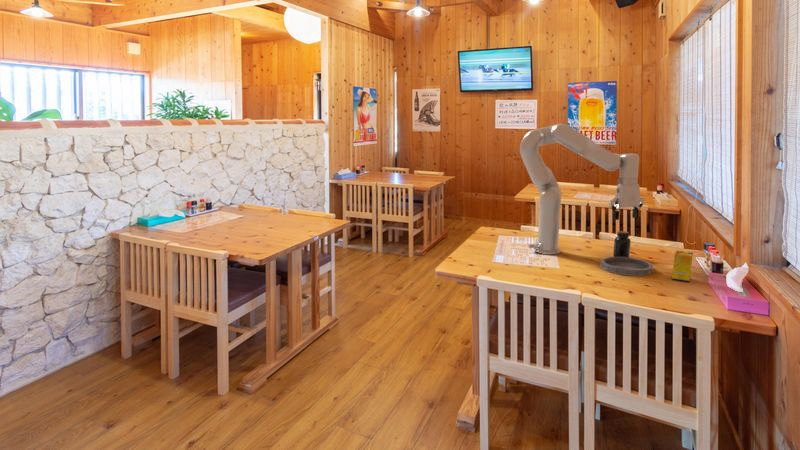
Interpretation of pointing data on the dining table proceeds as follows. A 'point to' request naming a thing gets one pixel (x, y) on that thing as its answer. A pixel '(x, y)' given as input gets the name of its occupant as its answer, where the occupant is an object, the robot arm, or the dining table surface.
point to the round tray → (626, 266)
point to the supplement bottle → (622, 244)
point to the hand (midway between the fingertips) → (625, 218)
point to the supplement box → (682, 266)
